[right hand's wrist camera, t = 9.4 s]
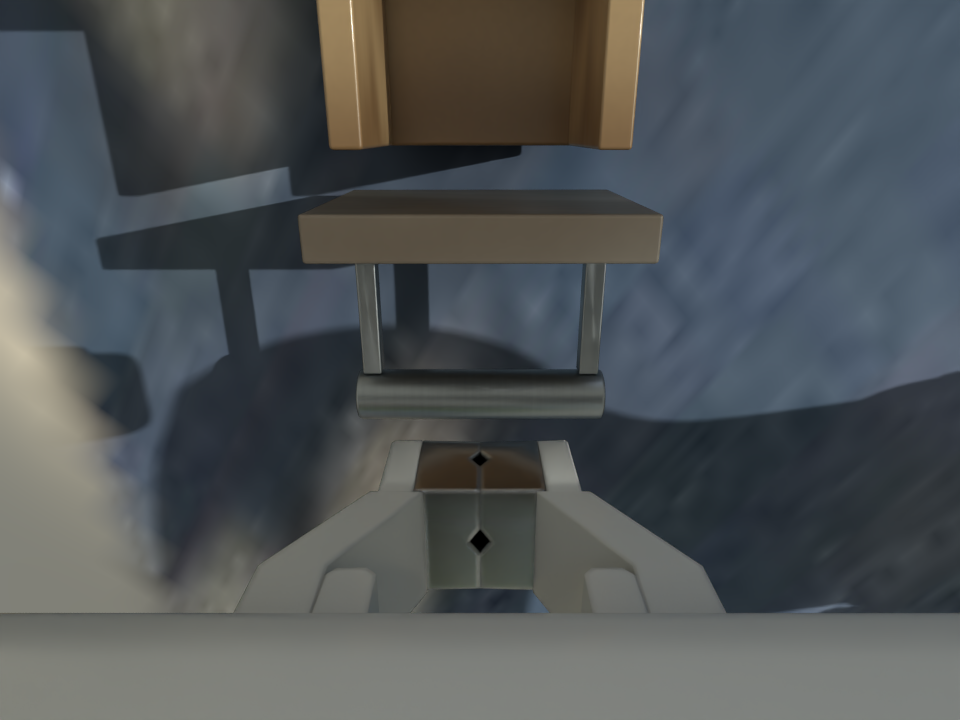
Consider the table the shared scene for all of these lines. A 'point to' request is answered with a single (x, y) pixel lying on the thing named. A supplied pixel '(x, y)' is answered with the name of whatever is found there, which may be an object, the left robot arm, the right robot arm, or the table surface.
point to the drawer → (480, 213)
